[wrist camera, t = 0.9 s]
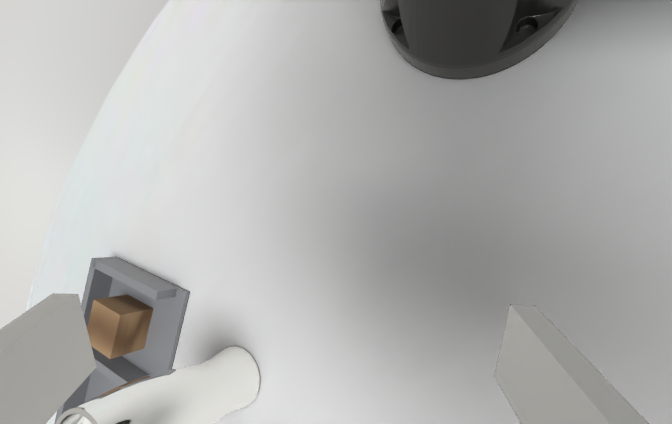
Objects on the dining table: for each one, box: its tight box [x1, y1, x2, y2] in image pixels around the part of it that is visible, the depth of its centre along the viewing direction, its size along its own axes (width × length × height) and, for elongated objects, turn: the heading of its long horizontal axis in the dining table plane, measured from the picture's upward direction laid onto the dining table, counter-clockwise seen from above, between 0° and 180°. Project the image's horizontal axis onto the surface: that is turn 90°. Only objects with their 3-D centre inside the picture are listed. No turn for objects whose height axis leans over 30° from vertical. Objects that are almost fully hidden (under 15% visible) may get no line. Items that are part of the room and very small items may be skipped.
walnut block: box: [87, 294, 153, 359], centre depth 39 cm, size 5×5×4 cm
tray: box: [55, 257, 190, 423], centre depth 41 cm, size 23×14×3 cm, turn 164°
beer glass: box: [55, 346, 260, 424], centre depth 28 cm, size 7×7×15 cm
